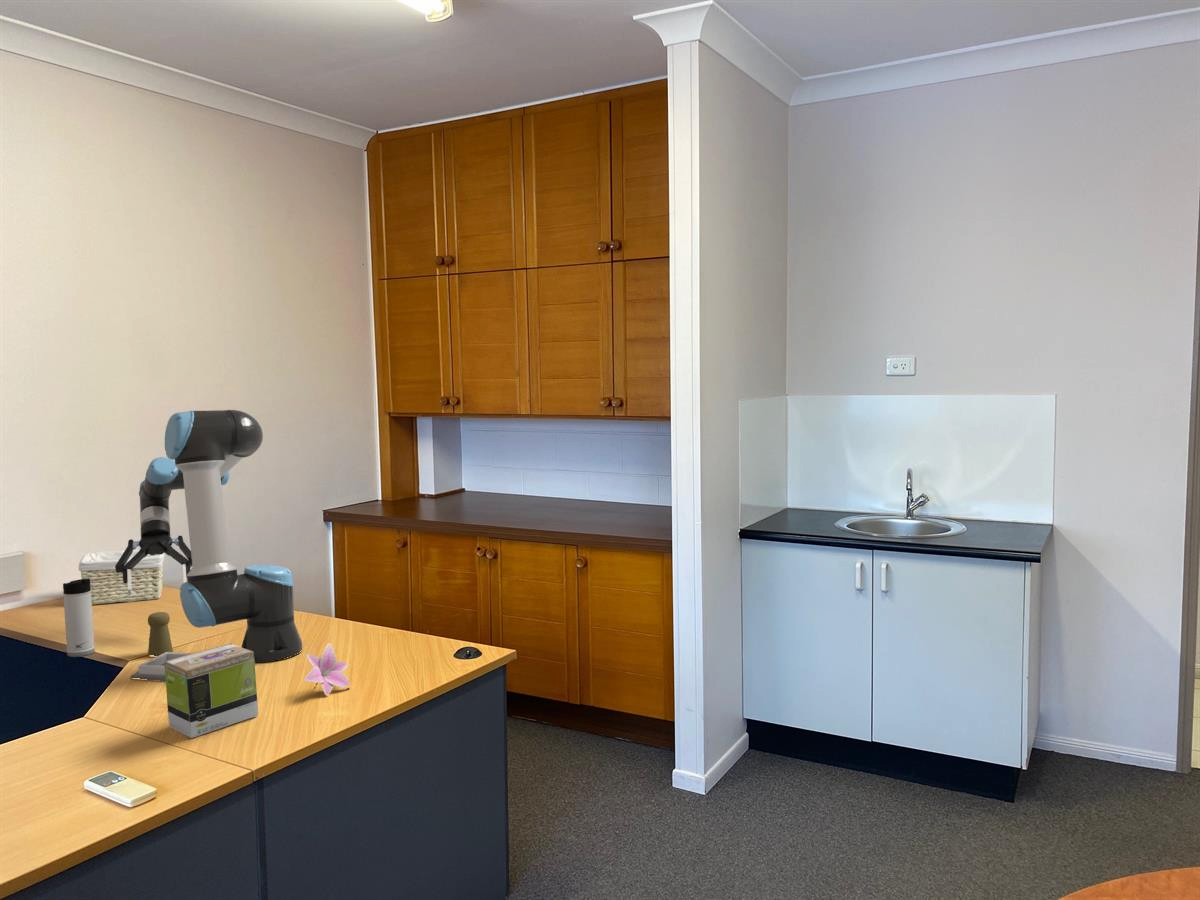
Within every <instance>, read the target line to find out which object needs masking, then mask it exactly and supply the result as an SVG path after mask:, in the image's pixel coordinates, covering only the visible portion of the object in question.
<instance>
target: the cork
mask: <svg viewBox="0 0 1200 900" xmlns="http://www.w3.org/2000/svg"><path fill="white" fill-rule="evenodd" d="M170 618H171V617H170V615H169V614H168V612H165V611H158V612H157V611H155V612H153V613H150V615H148V617H147V624H148V625H149V627H150V628H149V639H148V650H147V655H148V654H149V655H154V656H159V655H161V654H164V653H166V652H174V649H173V646H172V640H171V635H170V629H169V626H168V625H169V623H170V622H171V621H170V620H171V619H170Z"/></svg>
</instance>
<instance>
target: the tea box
mask: <svg viewBox="0 0 1200 900" xmlns="http://www.w3.org/2000/svg"><path fill="white" fill-rule="evenodd" d="M256 675H257V674H256V662H255V661H254V652H253V651H250V650H247V649H244V648H242V647H241V646H239V645H236V644H233V643H232V642H231V643H227V644H224V645H220V646H214V647H212V648H209V649H204V650H201V651H197V652H194V653H193V654H190V655H186V656H182V657H179V658H175V659H172V660H168V661H165V678H166V681H165V685H166V686H165V688H166V691H165V692H166V703H167V704H166V705H167V715H168V717H167V718H168V726H169V727H170V728H171V729H173V730H174V731H176V732H178V733H179V734H182V735H184V736H185V737H188V738H190V739H194V738H197V737H199V736H202V735H205V734H209V733H212V732H215V731H216V730H220V729H223V728H225V727H228V726H232V725H234V724H238V723H240V722H244V721H246V720H249V719H253V718H255V717H258V716H259V707H258V691H257V689H258V688H257V678H256Z"/></svg>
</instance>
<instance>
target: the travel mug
mask: <svg viewBox="0 0 1200 900" xmlns="http://www.w3.org/2000/svg"><path fill="white" fill-rule="evenodd" d="M62 588H63V589H62V590H63V611H64V623H65V624H64V625H65V628H64V629H65V637H66V638H65V639H66V655H67V656H68V657H72V658H78V657H79V658H80V657H85V656H89V655H91V654H93V653H94V652H95V650H96V649H95V633H94V622H93V621H94V619H93V618H94V617H93V605H92V601H91V589H90V579H82V578H81V579H74V580H70V582H64V583H62Z"/></svg>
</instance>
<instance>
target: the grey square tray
mask: <svg viewBox="0 0 1200 900" xmlns="http://www.w3.org/2000/svg"><path fill="white" fill-rule="evenodd" d="M190 654H193V653H190V652H189V653H188V652H174V651H173V652H166V653H164V654H161V655H159V656H157V657H155V658H153V657H152V658H151V659H149V660H148V661H145V662H143V663H141V664H139V665H138V666H137V667H138V671H137V672H134V673H132V674H131V675H130V679H131V678H140V679H147V680H146V681H150V680H160V681H159V682H166V678H165V661H168V660H172V659H175V658H179V657H182V656H186V655H190Z"/></svg>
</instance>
